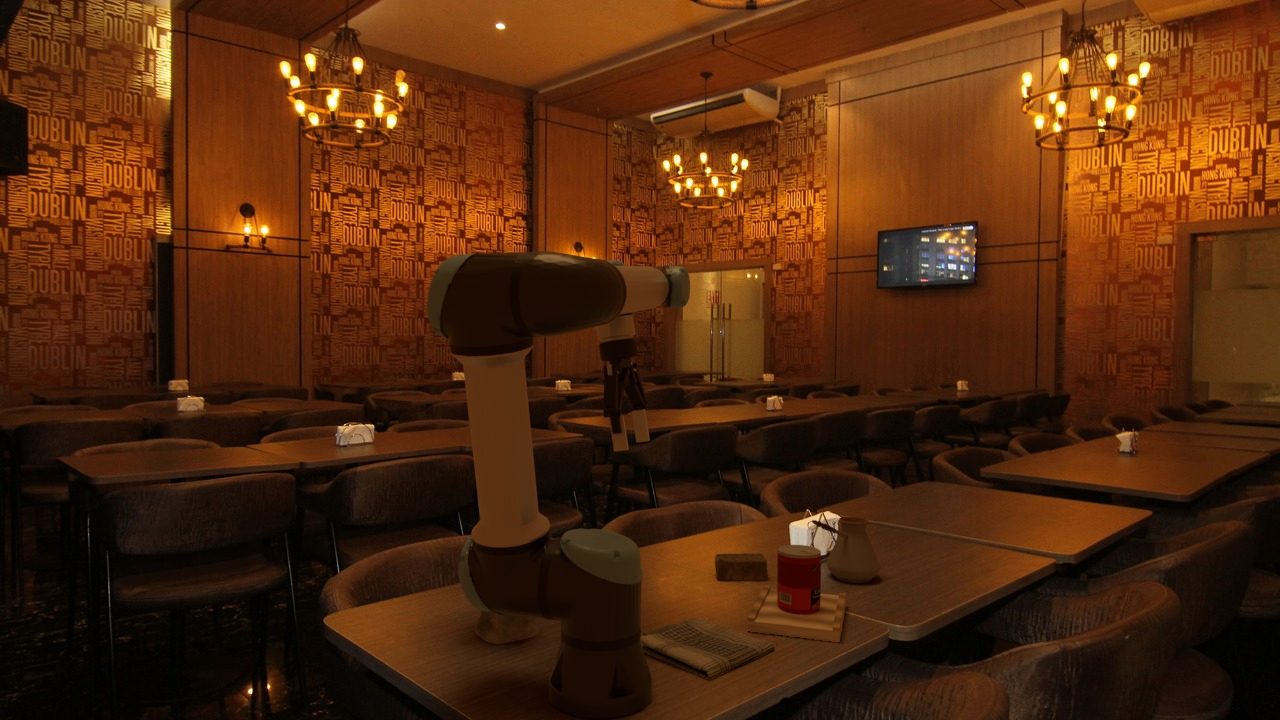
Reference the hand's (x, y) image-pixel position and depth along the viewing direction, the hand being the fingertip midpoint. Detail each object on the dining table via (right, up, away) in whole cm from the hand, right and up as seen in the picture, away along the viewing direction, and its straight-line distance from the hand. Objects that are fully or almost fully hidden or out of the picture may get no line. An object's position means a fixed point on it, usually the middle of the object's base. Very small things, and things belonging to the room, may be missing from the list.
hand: (632, 446), depth 155 cm
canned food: (+31, -30, -8) cm, 44 cm away
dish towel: (+12, -33, -22) cm, 41 cm away
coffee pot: (+45, -31, +15) cm, 57 cm away
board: (+31, -32, -8) cm, 45 cm away
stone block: (+24, -31, +18) cm, 44 cm away
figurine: (-23, -32, -16) cm, 42 cm away
